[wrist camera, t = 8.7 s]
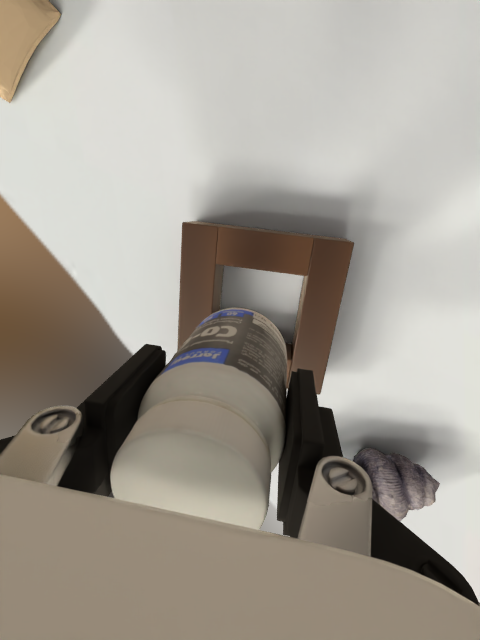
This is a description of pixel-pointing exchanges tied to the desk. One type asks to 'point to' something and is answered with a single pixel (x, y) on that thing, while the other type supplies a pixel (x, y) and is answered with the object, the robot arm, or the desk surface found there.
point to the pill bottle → (211, 424)
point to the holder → (269, 255)
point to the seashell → (397, 482)
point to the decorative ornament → (21, 37)
